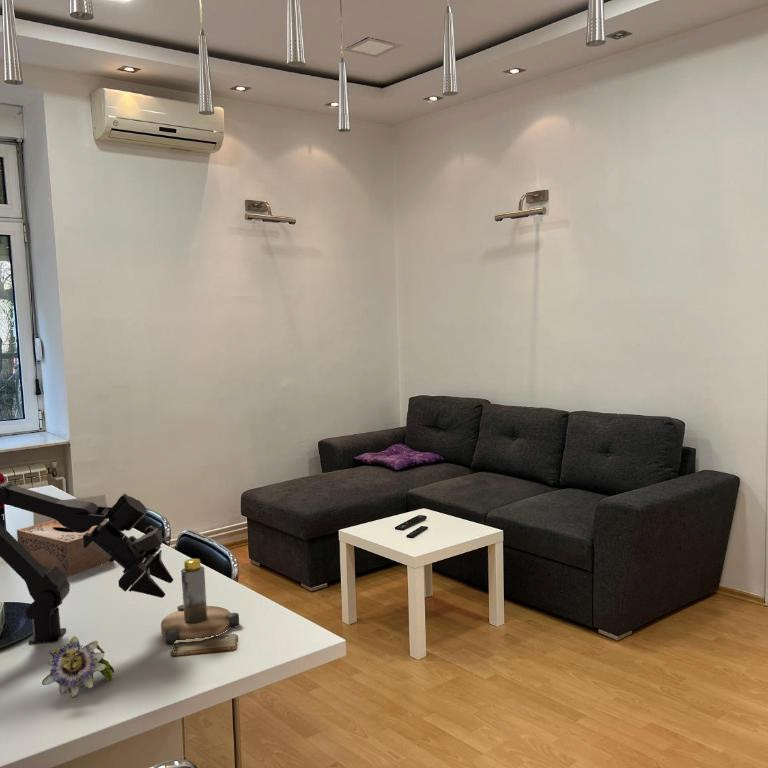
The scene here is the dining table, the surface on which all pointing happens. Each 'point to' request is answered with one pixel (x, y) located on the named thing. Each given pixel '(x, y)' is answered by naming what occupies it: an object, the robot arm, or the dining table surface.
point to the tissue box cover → (61, 547)
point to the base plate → (214, 625)
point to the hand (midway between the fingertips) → (168, 588)
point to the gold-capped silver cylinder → (194, 592)
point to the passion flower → (77, 666)
